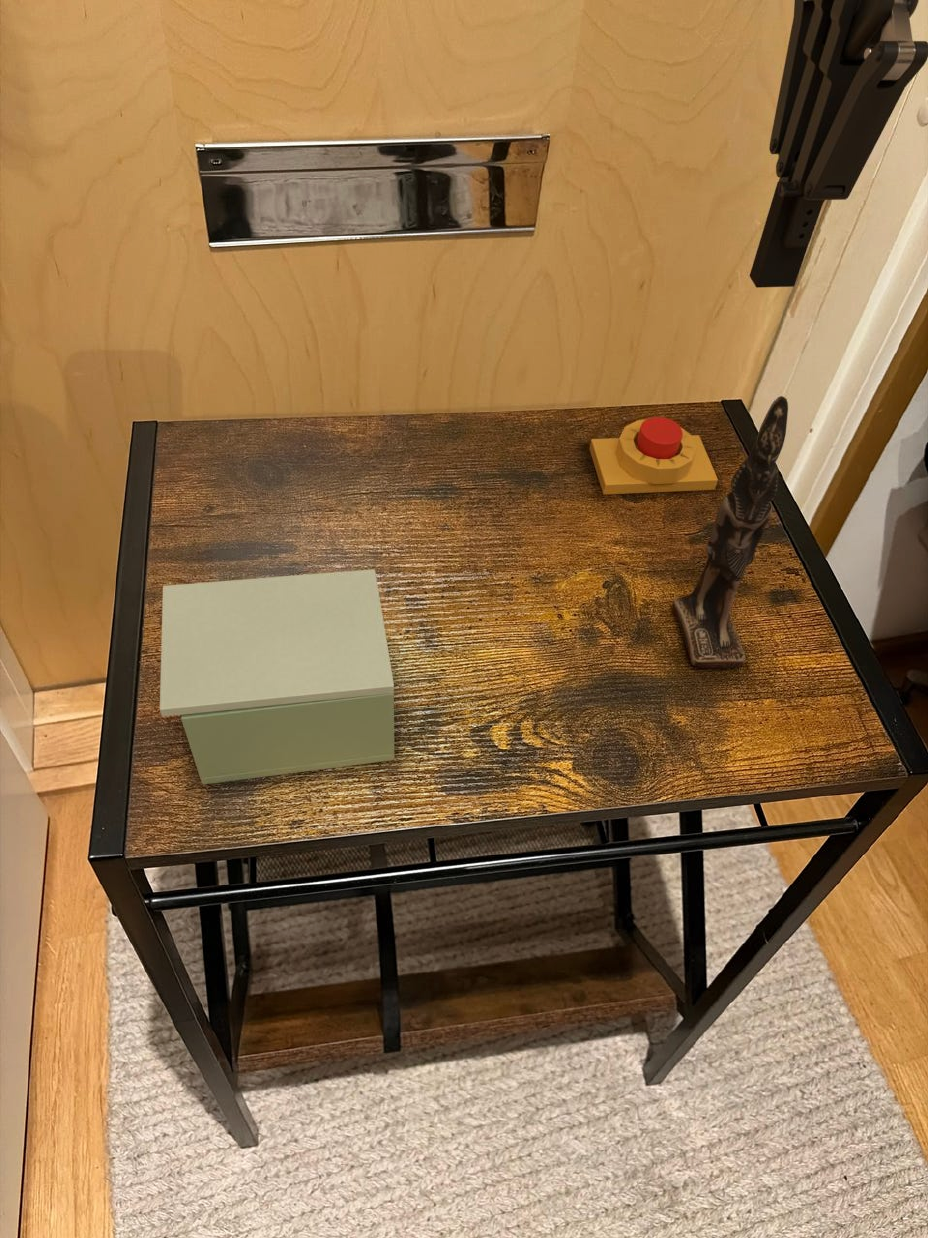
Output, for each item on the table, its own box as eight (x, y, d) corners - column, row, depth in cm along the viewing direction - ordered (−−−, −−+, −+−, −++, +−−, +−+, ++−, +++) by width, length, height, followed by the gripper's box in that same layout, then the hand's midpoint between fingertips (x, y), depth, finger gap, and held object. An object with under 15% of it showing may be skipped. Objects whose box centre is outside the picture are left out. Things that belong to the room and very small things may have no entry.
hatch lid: (161, 717, 55) (159, 709, 54) (164, 593, 61) (162, 585, 60) (393, 693, 57) (394, 685, 57) (375, 576, 63) (375, 568, 62)
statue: (689, 675, 69) (773, 468, 54) (665, 602, 74) (736, 391, 58) (744, 672, 70) (842, 466, 54) (717, 599, 74) (801, 390, 59)
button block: (695, 443, 86) (703, 416, 84) (715, 492, 82) (724, 465, 80) (588, 447, 85) (593, 420, 83) (603, 497, 81) (609, 470, 78)
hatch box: (202, 785, 61) (180, 719, 55) (201, 667, 67) (181, 596, 61) (394, 760, 63) (394, 693, 57) (377, 648, 69) (375, 577, 63)
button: (672, 431, 83) (676, 415, 81) (682, 459, 80) (687, 443, 79) (632, 433, 82) (636, 417, 81) (642, 460, 80) (646, 444, 79)
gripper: (794, -189, 50) (692, 234, 68) (896, -126, 42) (749, 337, 60) (926, -185, 51) (791, 232, 69) (1051, -122, 43) (860, 333, 61)
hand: (771, 280), depth 64 cm, fingers closed
